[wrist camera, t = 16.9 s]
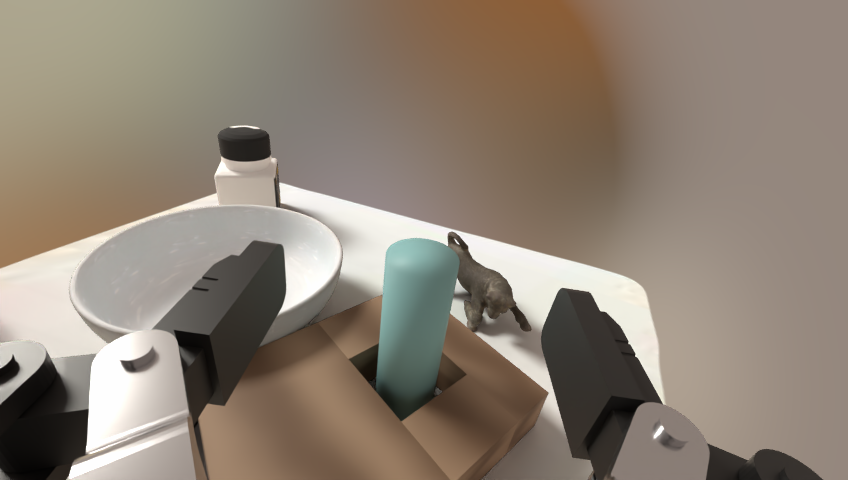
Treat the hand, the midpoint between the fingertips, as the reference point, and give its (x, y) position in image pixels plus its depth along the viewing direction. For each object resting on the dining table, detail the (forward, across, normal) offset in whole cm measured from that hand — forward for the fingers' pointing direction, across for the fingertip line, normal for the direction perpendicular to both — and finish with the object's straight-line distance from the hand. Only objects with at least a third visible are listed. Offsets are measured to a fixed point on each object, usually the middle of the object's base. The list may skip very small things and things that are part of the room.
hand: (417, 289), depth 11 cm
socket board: (+8, +2, +20) cm, 22 cm away
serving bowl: (+18, +17, +21) cm, 33 cm away
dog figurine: (+23, -7, +20) cm, 31 cm away
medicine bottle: (+38, +24, +21) cm, 50 cm away
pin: (+10, -1, +20) cm, 23 cm away
